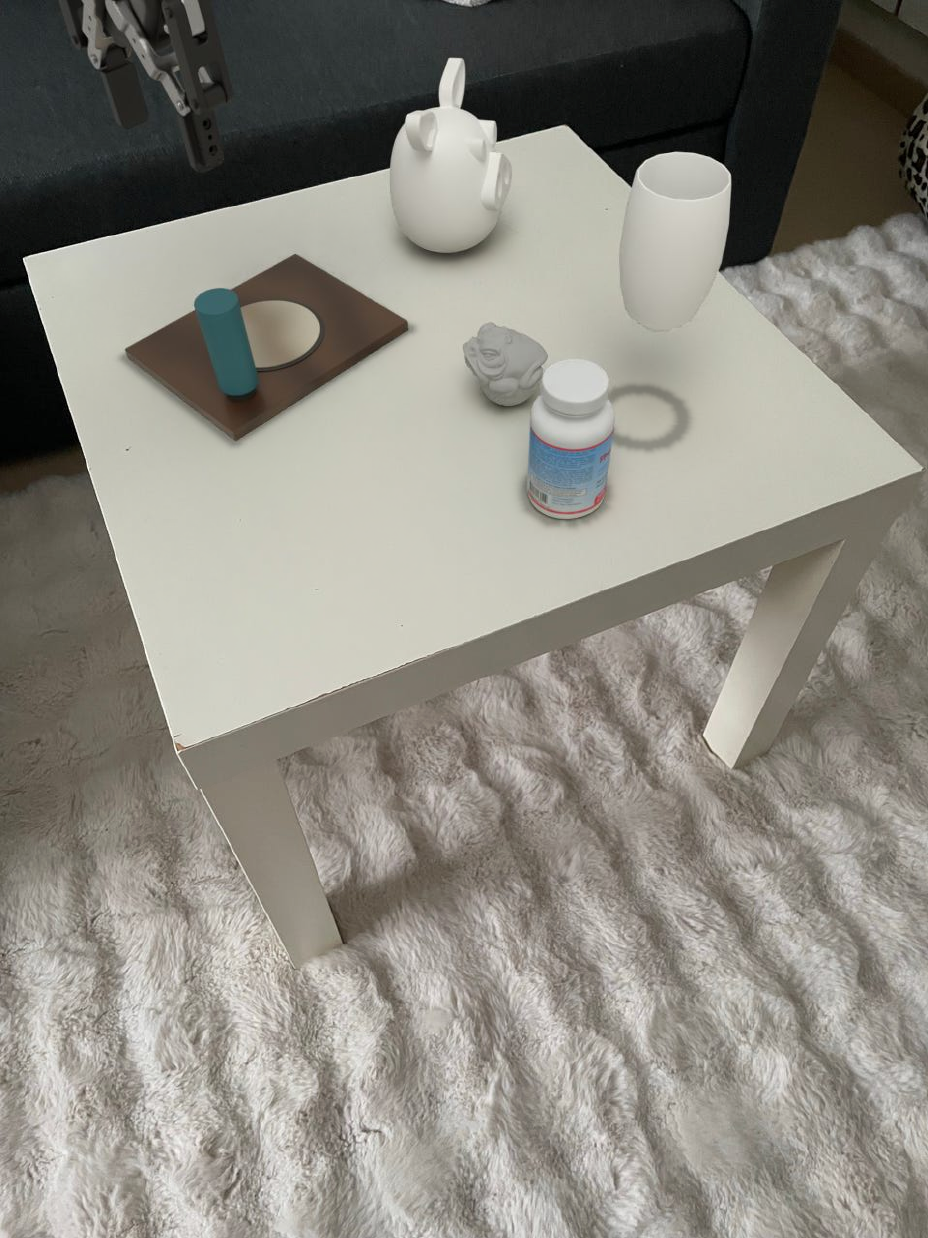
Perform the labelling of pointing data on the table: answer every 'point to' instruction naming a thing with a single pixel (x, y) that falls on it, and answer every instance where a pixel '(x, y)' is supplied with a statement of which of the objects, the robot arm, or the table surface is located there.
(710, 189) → the cup
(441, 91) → the piggy bank
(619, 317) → the table surface
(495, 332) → the grey sculpted head figurine
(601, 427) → the pill bottle
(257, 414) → the wooden board with hole
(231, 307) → the teal cylinder
